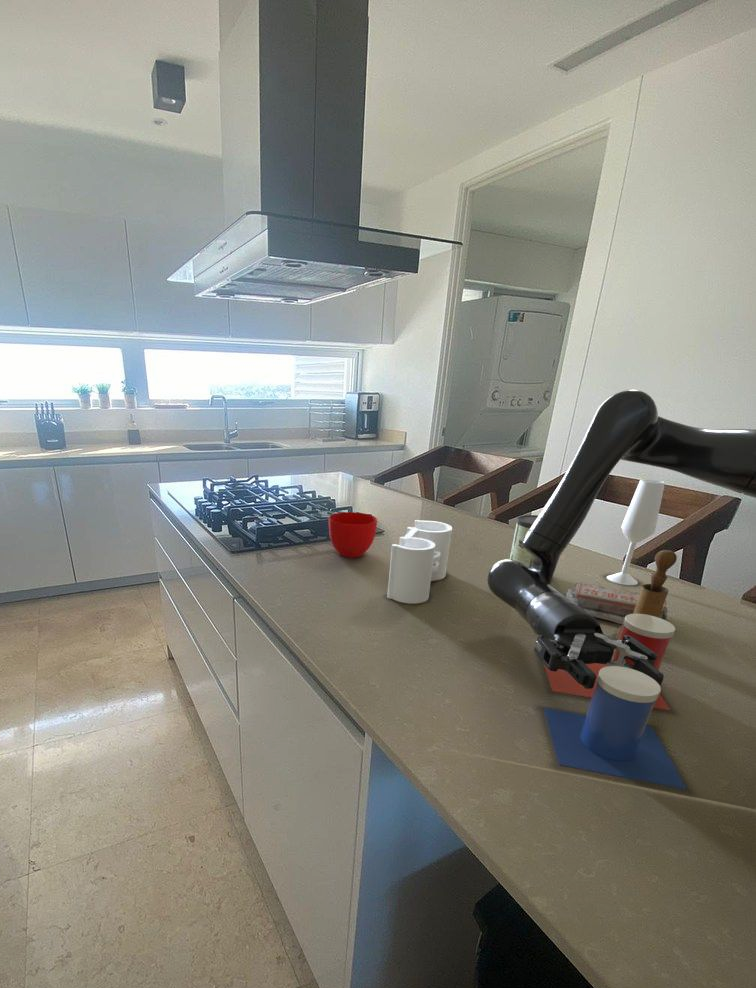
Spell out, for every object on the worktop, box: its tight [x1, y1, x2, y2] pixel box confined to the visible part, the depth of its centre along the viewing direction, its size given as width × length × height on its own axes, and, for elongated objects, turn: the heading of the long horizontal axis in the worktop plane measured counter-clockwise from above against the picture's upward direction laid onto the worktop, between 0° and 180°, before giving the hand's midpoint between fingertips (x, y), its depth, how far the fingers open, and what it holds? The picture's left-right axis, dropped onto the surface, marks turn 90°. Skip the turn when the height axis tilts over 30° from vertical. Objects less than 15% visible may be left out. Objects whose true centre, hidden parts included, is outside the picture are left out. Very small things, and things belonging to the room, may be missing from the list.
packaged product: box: [565, 581, 669, 625], centre depth 101 cm, size 18×5×10 cm
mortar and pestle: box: [615, 549, 678, 640], centre depth 86 cm, size 7×6×18 cm
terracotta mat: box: [543, 663, 671, 711], centre depth 78 cm, size 16×12×1 cm
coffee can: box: [509, 514, 539, 568], centre depth 118 cm, size 10×10×14 cm
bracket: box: [386, 519, 453, 605], centre depth 112 cm, size 25×10×12 cm, turn 154°
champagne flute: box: [606, 478, 666, 586], centre depth 114 cm, size 7×7×24 cm
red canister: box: [611, 614, 676, 671], centre depth 77 cm, size 7×7×10 cm
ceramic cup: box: [328, 511, 378, 559], centre depth 133 cm, size 13×17×10 cm
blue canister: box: [580, 666, 662, 761], centre depth 62 cm, size 7×7×10 cm
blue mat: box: [543, 707, 689, 790], centre depth 64 cm, size 14×12×1 cm
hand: (625, 683), depth 61 cm, fingers open, 8 cm apart
